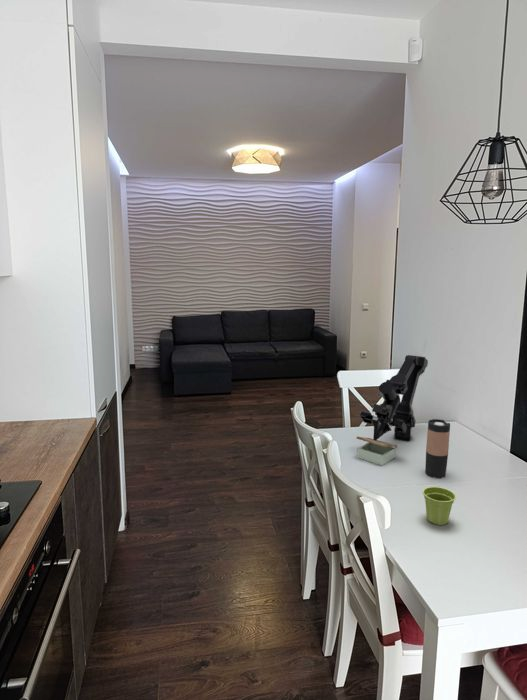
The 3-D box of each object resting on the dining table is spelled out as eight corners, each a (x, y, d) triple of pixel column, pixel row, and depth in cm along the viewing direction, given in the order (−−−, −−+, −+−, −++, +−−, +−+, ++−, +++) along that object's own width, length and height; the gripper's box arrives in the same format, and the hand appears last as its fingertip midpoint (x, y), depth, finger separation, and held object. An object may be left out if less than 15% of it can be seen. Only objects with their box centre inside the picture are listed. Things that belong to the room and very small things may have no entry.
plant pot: (417, 511, 148) (418, 486, 146) (447, 512, 148) (449, 486, 146) (426, 528, 139) (428, 501, 137) (458, 528, 139) (460, 501, 137)
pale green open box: (370, 450, 196) (370, 441, 195) (394, 457, 188) (395, 448, 188) (357, 457, 188) (357, 448, 188) (382, 465, 181) (382, 455, 180)
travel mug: (423, 476, 172) (427, 424, 168) (425, 468, 179) (428, 418, 175) (446, 480, 169) (450, 427, 165) (446, 471, 176) (450, 420, 172)
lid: (369, 440, 195) (370, 438, 196) (396, 447, 188) (396, 445, 188) (356, 438, 187) (356, 436, 187) (383, 446, 179) (384, 444, 179)
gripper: (362, 391, 192) (346, 424, 186) (405, 400, 180) (390, 435, 174) (371, 405, 200) (356, 437, 193) (413, 415, 187) (398, 449, 181)
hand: (374, 439), depth 185 cm, fingers closed
